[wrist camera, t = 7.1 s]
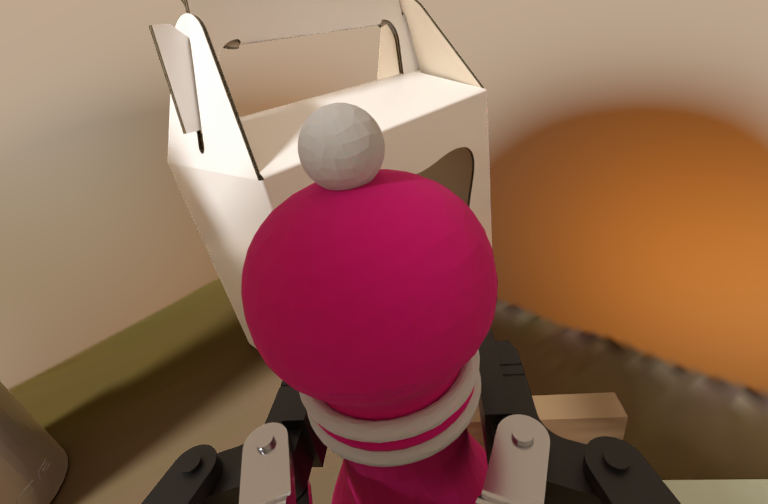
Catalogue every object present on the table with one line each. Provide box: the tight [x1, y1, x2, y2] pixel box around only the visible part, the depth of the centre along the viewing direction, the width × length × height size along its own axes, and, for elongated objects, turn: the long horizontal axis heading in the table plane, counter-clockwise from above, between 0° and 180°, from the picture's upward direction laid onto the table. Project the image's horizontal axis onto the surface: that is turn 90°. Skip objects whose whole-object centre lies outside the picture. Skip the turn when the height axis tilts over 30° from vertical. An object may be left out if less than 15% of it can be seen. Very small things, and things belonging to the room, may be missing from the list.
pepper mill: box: [241, 103, 498, 504], centre depth 12 cm, size 7×7×20 cm
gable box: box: [149, 0, 492, 349], centre depth 30 cm, size 22×13×28 cm, turn 137°
